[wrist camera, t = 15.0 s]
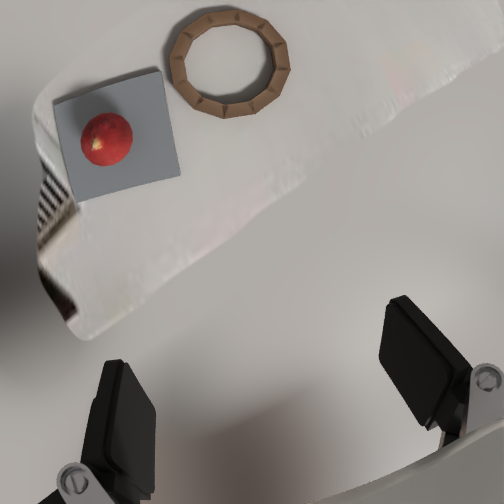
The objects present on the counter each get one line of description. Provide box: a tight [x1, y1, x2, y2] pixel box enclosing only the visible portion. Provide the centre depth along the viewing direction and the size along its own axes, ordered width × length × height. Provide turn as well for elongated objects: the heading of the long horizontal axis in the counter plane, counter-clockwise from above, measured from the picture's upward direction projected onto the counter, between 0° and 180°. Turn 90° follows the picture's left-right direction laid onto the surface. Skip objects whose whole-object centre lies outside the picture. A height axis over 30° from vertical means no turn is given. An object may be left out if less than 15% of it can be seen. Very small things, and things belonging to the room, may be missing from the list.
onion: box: [80, 112, 133, 167], centre depth 28 cm, size 6×6×8 cm
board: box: [54, 71, 181, 203], centre depth 32 cm, size 14×13×1 cm
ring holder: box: [169, 9, 291, 119], centre depth 30 cm, size 14×14×2 cm
